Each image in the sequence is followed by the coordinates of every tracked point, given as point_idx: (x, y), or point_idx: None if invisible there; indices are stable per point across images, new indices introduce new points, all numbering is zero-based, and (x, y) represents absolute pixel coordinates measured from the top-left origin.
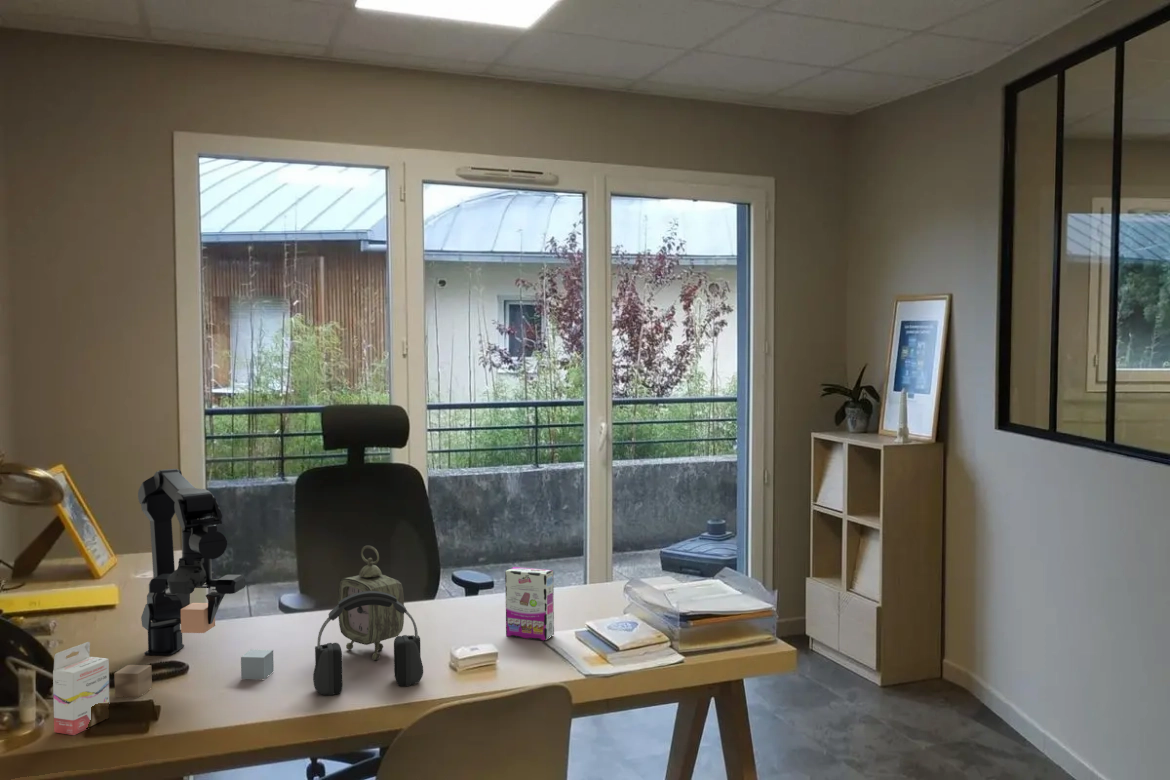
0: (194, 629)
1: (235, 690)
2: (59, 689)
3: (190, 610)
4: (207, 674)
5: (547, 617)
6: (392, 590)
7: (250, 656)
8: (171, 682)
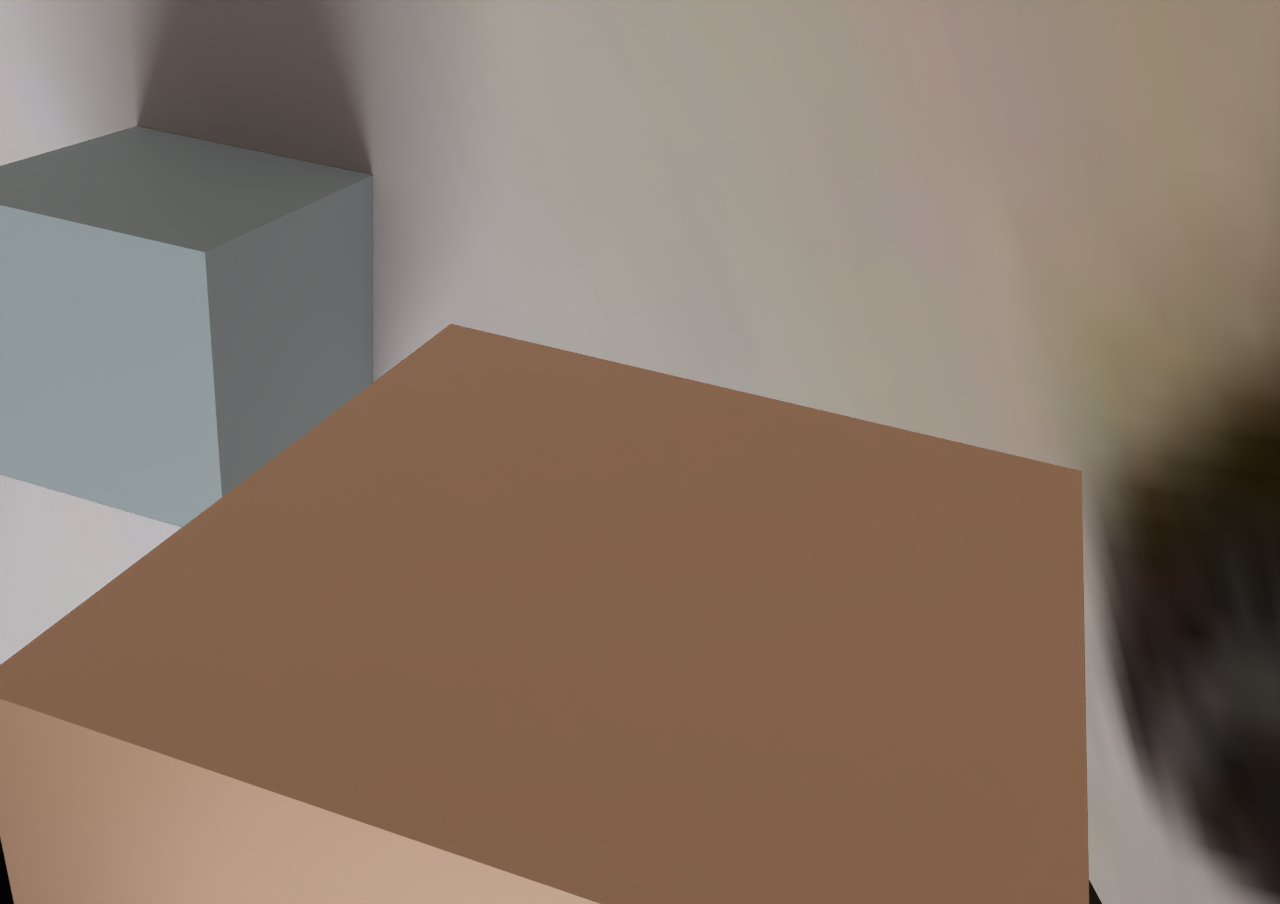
0: (664, 414)
1: None
2: None
3: (565, 844)
4: None
5: None
6: None
7: (98, 256)
8: (1247, 192)
